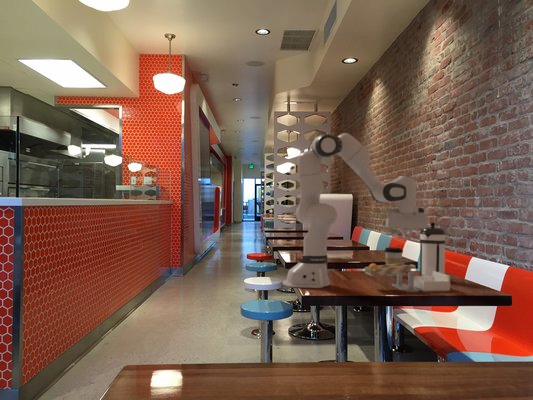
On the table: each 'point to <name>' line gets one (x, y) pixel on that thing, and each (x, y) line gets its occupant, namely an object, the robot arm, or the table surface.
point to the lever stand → (404, 286)
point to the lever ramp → (390, 269)
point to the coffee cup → (393, 257)
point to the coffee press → (432, 250)
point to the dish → (433, 282)
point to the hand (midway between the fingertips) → (406, 237)
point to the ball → (373, 266)
